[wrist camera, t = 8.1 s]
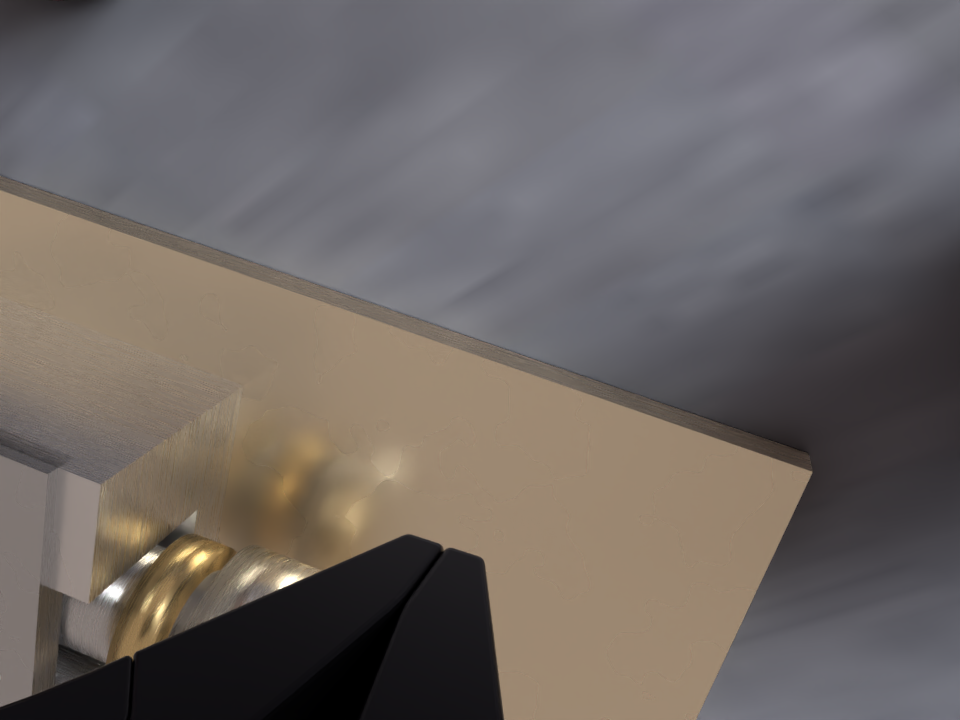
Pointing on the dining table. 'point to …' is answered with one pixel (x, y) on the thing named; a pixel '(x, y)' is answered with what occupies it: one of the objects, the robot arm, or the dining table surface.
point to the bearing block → (357, 463)
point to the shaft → (173, 595)
